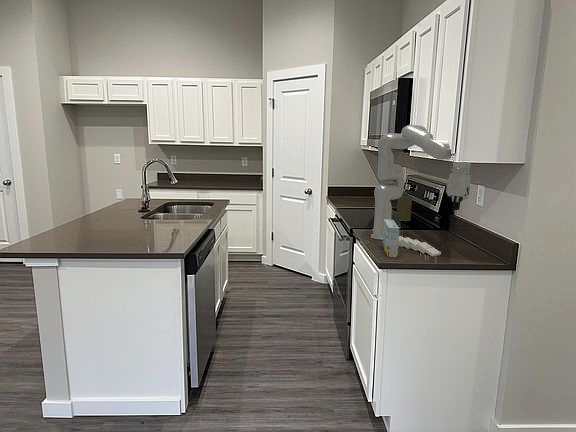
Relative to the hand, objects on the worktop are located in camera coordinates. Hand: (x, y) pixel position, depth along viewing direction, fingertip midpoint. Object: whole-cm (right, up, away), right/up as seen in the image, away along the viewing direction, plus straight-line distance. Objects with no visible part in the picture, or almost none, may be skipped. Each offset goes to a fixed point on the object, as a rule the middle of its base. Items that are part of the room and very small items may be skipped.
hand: (455, 209), depth 194 cm
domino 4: (-10, -21, +11) cm, 26 cm away
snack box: (-29, -22, +11) cm, 38 cm away
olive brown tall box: (+3, -6, +100) cm, 100 cm away
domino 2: (-15, -20, +19) cm, 31 cm away
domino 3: (-12, -20, +15) cm, 28 cm away
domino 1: (-17, -19, +23) cm, 34 cm away
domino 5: (-7, -22, +6) cm, 24 cm away
